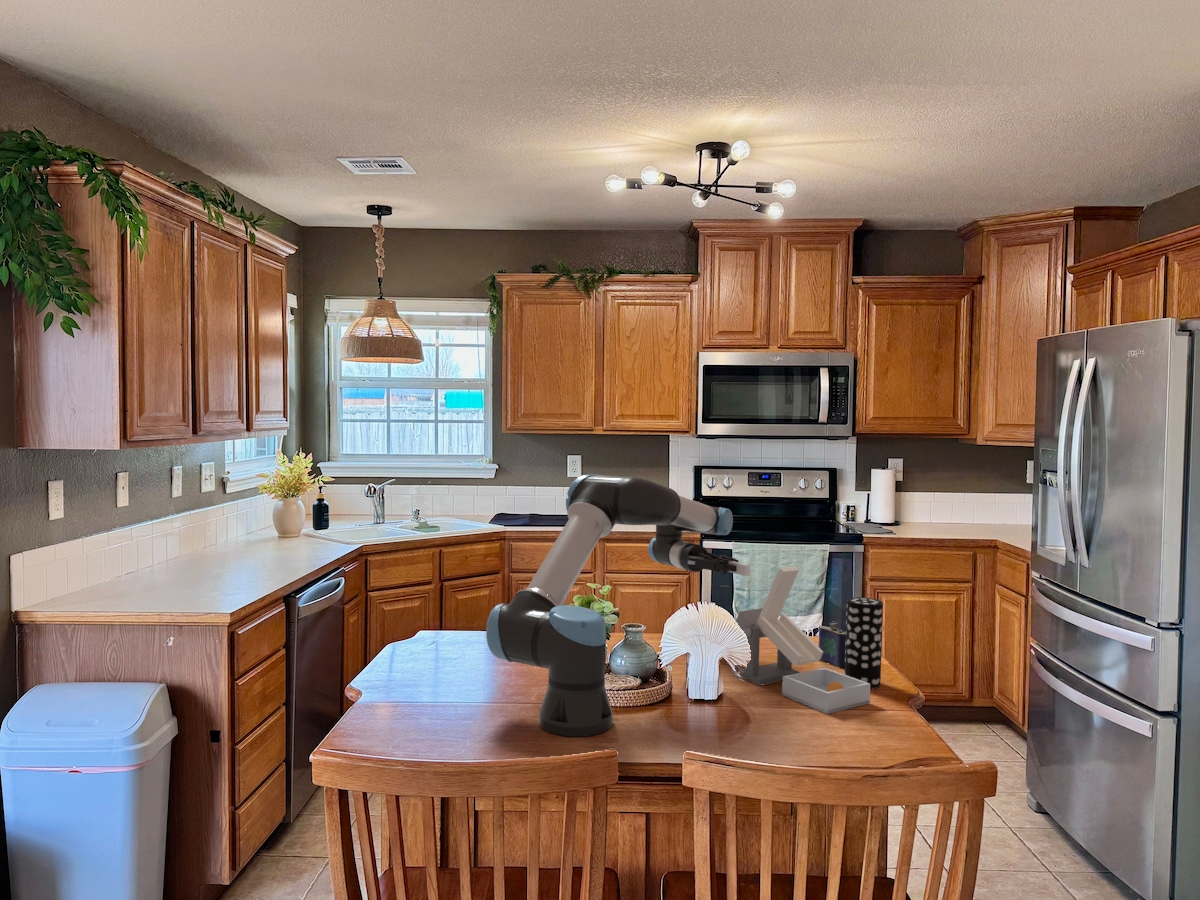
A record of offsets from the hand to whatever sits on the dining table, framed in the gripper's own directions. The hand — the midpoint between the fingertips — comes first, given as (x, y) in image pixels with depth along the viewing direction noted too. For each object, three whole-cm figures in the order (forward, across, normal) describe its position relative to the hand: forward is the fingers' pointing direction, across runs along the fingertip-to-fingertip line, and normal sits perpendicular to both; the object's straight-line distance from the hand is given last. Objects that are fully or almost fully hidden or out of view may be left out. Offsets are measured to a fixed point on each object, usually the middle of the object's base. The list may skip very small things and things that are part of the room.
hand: (747, 570), depth 213 cm
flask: (+8, -23, -25) cm, 35 cm away
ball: (+30, 0, -22) cm, 37 cm away
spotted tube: (+23, -17, -25) cm, 38 cm away
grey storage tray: (+27, 0, -25) cm, 37 cm away
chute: (+9, 0, -19) cm, 21 cm away
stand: (+8, 0, -25) cm, 26 cm away
